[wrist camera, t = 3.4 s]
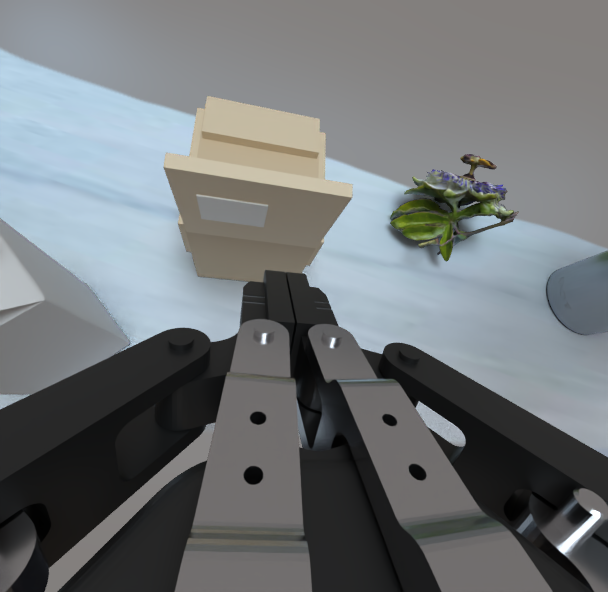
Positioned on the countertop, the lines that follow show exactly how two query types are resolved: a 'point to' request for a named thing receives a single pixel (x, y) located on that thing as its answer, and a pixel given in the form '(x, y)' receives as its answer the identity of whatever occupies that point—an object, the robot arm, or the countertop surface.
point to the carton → (259, 154)
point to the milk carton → (47, 319)
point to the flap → (254, 201)
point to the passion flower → (454, 192)
